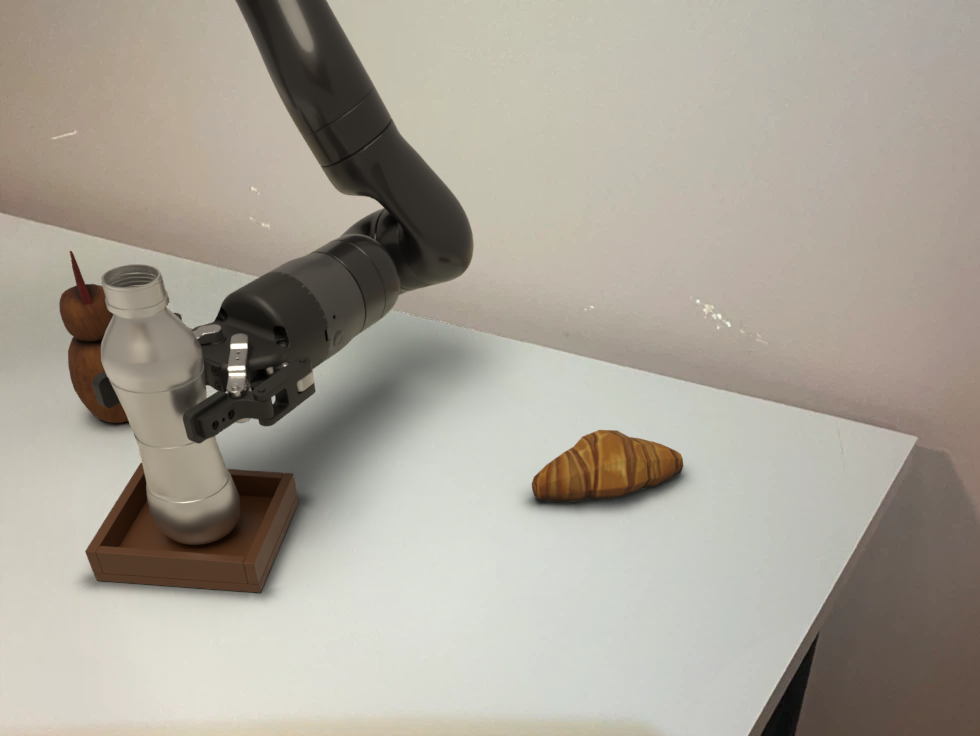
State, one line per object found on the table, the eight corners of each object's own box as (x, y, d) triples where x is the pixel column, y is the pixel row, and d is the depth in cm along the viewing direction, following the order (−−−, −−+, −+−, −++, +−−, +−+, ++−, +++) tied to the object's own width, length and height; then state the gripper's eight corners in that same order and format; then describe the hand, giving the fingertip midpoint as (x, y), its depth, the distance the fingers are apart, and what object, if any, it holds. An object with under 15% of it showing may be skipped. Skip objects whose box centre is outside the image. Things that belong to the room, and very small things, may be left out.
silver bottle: (242, 553, 78) (179, 297, 63) (151, 558, 77) (66, 300, 62) (249, 503, 82) (191, 253, 67) (163, 507, 82) (86, 255, 67)
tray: (96, 581, 77) (84, 551, 74) (149, 491, 84) (140, 462, 82) (260, 593, 76) (253, 563, 74) (299, 501, 84) (293, 472, 82)
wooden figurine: (146, 431, 90) (96, 261, 79) (80, 432, 90) (19, 262, 79) (160, 392, 95) (114, 226, 84) (97, 393, 95) (42, 226, 83)
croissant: (663, 451, 90) (670, 400, 86) (696, 494, 86) (704, 442, 82) (518, 478, 87) (519, 426, 83) (545, 524, 82) (547, 471, 79)
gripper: (215, 249, 79) (51, 333, 70) (362, 294, 75) (209, 391, 65) (234, 340, 85) (85, 430, 75) (372, 388, 80) (233, 490, 71)
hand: (143, 412), depth 70 cm, fingers open, 8 cm apart
